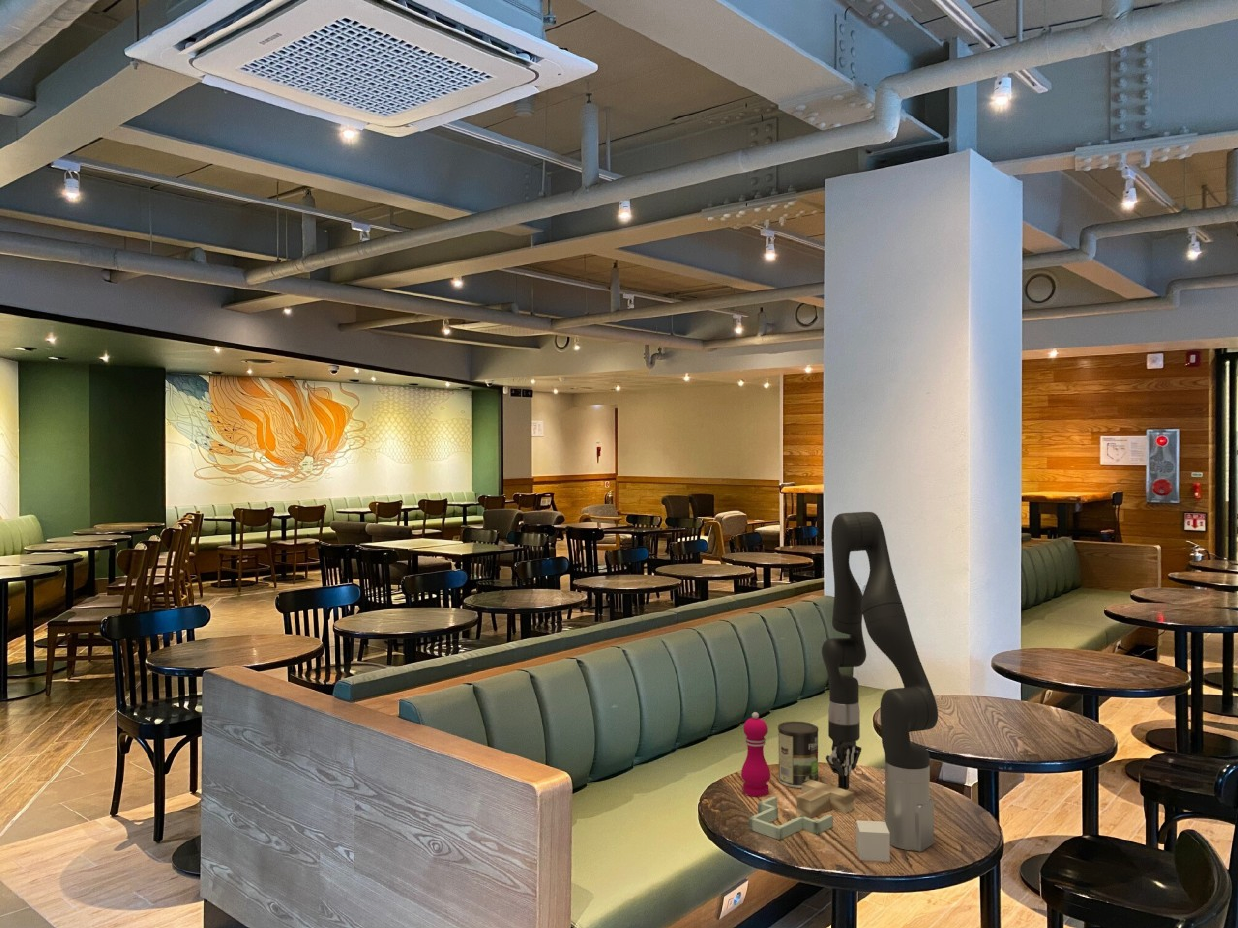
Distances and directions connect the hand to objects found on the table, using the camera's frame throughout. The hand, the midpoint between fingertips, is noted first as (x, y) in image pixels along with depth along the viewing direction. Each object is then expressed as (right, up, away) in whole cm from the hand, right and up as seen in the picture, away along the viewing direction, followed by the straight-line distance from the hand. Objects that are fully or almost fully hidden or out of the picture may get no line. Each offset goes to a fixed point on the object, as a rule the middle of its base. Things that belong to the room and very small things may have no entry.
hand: (843, 788), depth 219 cm
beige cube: (-2, -2, -33) cm, 33 cm away
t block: (-8, -2, -8) cm, 12 cm away
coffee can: (-9, -2, +10) cm, 14 cm away
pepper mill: (-21, -2, +3) cm, 22 cm away
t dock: (-18, -2, -18) cm, 25 cm away
